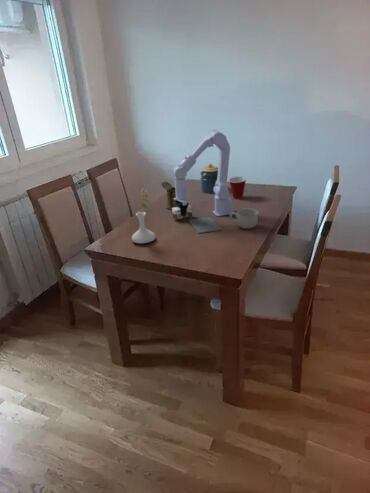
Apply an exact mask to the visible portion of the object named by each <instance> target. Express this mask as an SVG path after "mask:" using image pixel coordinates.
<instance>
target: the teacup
mask: <svg viewBox="0 0 370 493" xmlns="http://www.w3.org/2000/svg"><path fill="white" fill-rule="evenodd" d="M233 215H234V216H235V218H236V219H235V218H233ZM229 219H230V220H231V221H233V222H234V223H235V224H237V225H238V226H239V227H240V228H242V229H244V230H251V229H254V228H255V227H257V225H258V222H259V211H258V210H257V209H256V208H255V209H254V208H252V207H250V208H249V207H246V208H244V207H243V208H241V209H238V210H237V211H236V212H235V211H233V212H232V213H231V214H229Z"/></svg>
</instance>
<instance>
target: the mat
mask: <svg viewBox="0 0 370 493" xmlns="http://www.w3.org/2000/svg"><path fill="white" fill-rule="evenodd" d="M188 222H189V224H190V225H191V226H192V227H193V229H194V231H196V233H197V234H199V235H200V234H207V233H212V232H219V231H222V228H221V227H220V225H218V223H216V221H215V220H214V219H213V218H212V217H211V216H206V217H199V218H194V219H193V218H192V219H188Z"/></svg>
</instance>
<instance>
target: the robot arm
mask: <svg viewBox="0 0 370 493" xmlns="http://www.w3.org/2000/svg"><path fill="white" fill-rule="evenodd" d="M214 145H215V146H216V148H218V149H219V155H218V156H219V157H218V166H217V167H218V177H217V181H216V184H215V186H214V188H213V191H214V193H213V194H215V195H214V210H212V213H213V214H214V215H215V216H216V217H222V216H227V215H229V216H230V214H231V213H232V212H234V209H233V208H234V207H233V206H234V204H233V203H234V201H233V197H231V196H230V190H229V184H228V172H229V165H230V164H229V163H230V153H231V152H230V151H231V145H230V143H229V141H228V139H227V136H226V135H225V134H224V133H223V132H220V131H218V130H216V129H213V130H209V132H208V134H205V136H204V137H203V139H202V141H201V142H200V143H199V144H198V145H197V146H196V148H195V149H194V150H193V152H191V154H187V155H185V156H184V157H183V159H182V161H181V162H180V163H178V164H177V165H176V166H175V167H174V168H173V171H172V173H173V175H174V187H175V191H176V198H174V200H175V202H176V204H177V207H179V208H180V211H181V214H180V215H181V216H182V217H184V216H186V215H187V213H186V211H187V207H188V205H190V203H189V202H187V201H188V196H187V181H186V177H187V175H188V172H189V171H190V170H191V169H192V168H193V167H194V165H195V164H197V158H199V157H200V155H201V154H202V153H203V152H205V151H206V149H207V148H211V147H212V148H213V147H214Z"/></svg>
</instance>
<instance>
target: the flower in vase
mask: <svg viewBox="0 0 370 493" xmlns="http://www.w3.org/2000/svg"><path fill="white" fill-rule="evenodd" d="M140 193H141V196H142V201H141V205H140V206H141V208H137V211H138V212H136V213H135V216H136V217H137V219H138V224H139V228H138V230H137V231H135V232H134V233H133V235H132V236H131V240H132V241H133V242H134V243H136V244H146V243H147V244H148V243H150V242H152V241H154V240H155V239H156V235H155V233H154V232H153V231H152V230H149V229H147V227H146V226H145V219H146V218H145V217H146V216H147V212H146V211H143V209H146V208H147V207H148V204H152V201H153V199H152V198H151V197H152V195H151V194H150V192H149V190H147V189H146V188H144V187H143V188H141V190H140ZM144 201H145V202H146V203H145V202H144Z"/></svg>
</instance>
